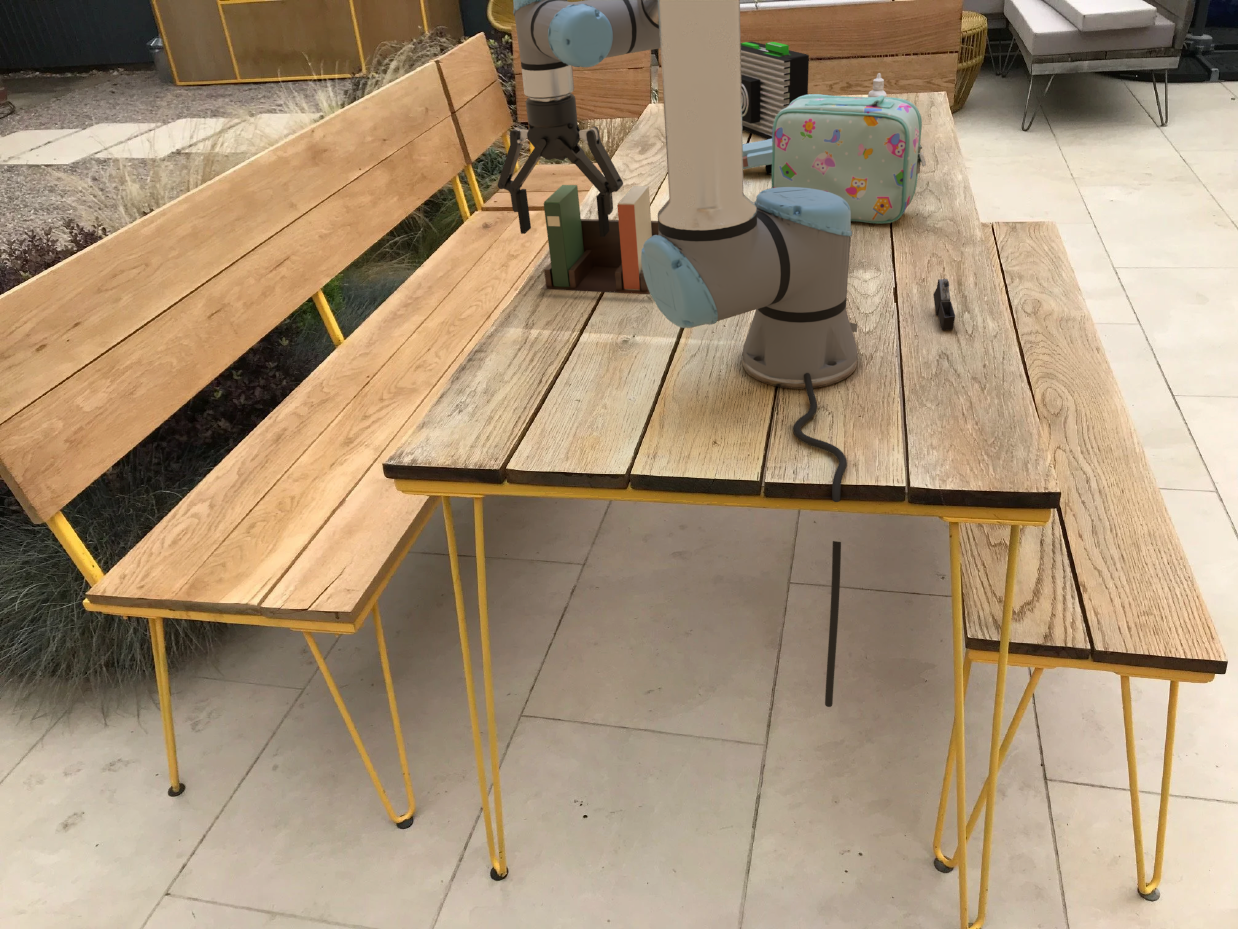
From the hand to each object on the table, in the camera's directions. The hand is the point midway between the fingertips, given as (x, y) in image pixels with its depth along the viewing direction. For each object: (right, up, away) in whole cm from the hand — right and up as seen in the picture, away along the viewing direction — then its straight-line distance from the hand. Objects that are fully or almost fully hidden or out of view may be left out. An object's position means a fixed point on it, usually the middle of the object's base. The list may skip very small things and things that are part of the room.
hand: (564, 232), depth 154 cm
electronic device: (+43, +43, +75) cm, 96 cm away
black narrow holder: (+56, -17, -17) cm, 61 cm away
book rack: (+6, -8, +3) cm, 11 cm away
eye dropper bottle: (+69, +42, +70) cm, 107 cm away
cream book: (+12, -8, +1) cm, 14 cm away
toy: (+37, +24, +48) cm, 65 cm away
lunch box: (+51, +9, +22) cm, 56 cm away
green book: (+1, -6, +4) cm, 8 cm away
